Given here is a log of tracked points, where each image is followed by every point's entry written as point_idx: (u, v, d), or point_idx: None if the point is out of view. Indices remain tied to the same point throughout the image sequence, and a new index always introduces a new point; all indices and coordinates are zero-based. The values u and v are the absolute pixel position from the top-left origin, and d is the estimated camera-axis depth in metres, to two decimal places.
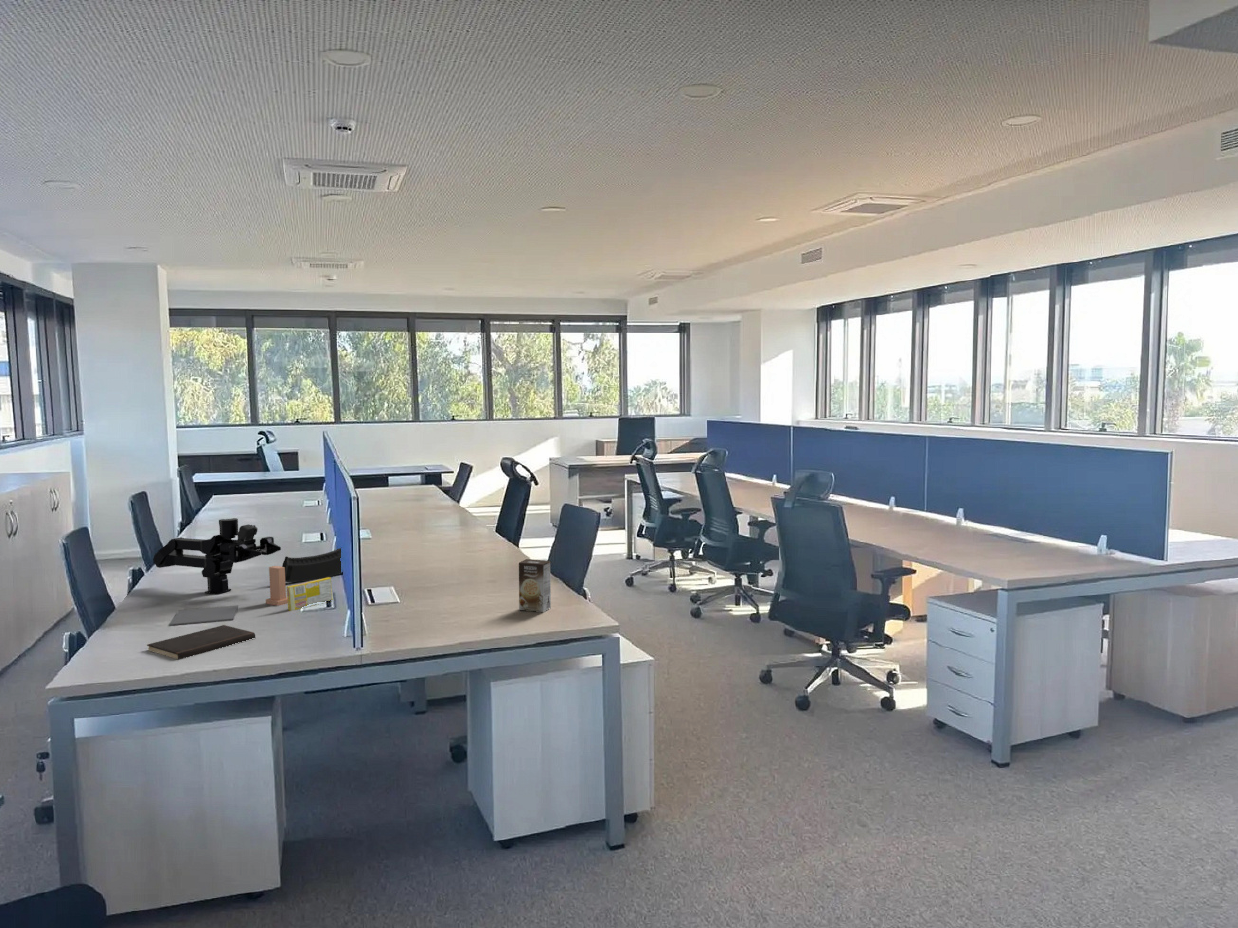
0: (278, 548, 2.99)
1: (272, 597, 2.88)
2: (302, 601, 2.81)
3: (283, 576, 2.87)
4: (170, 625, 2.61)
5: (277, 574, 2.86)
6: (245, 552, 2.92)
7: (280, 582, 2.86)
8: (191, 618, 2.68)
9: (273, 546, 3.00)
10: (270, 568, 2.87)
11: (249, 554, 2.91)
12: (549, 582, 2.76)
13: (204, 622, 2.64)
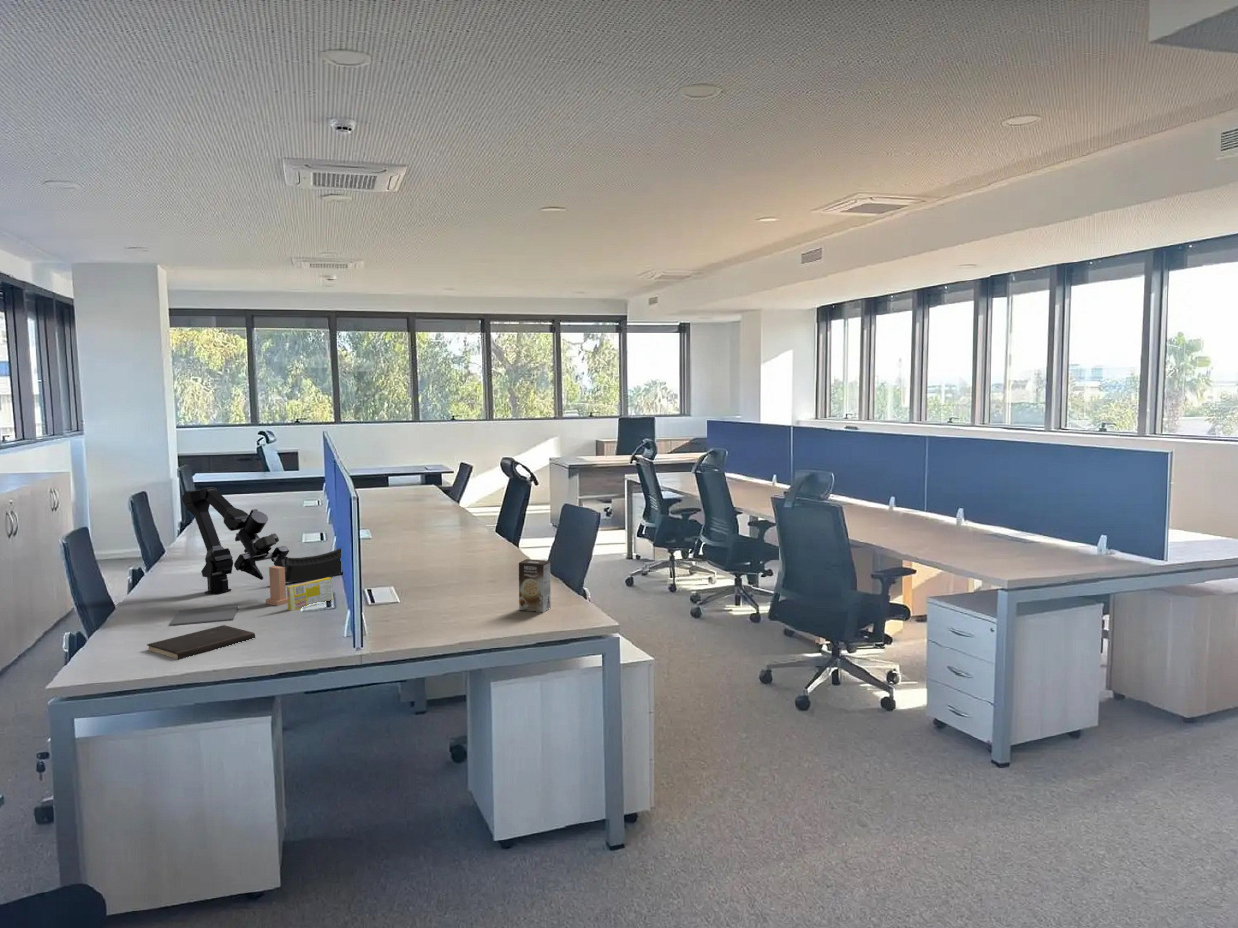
0: None
1: (272, 597, 2.88)
2: (302, 601, 2.81)
3: (283, 576, 2.87)
4: (170, 625, 2.61)
5: (277, 574, 2.86)
6: (251, 566, 2.85)
7: (280, 582, 2.86)
8: (191, 618, 2.68)
9: (281, 565, 2.93)
10: (270, 568, 2.87)
11: (253, 571, 2.85)
12: (549, 582, 2.76)
13: (204, 622, 2.64)
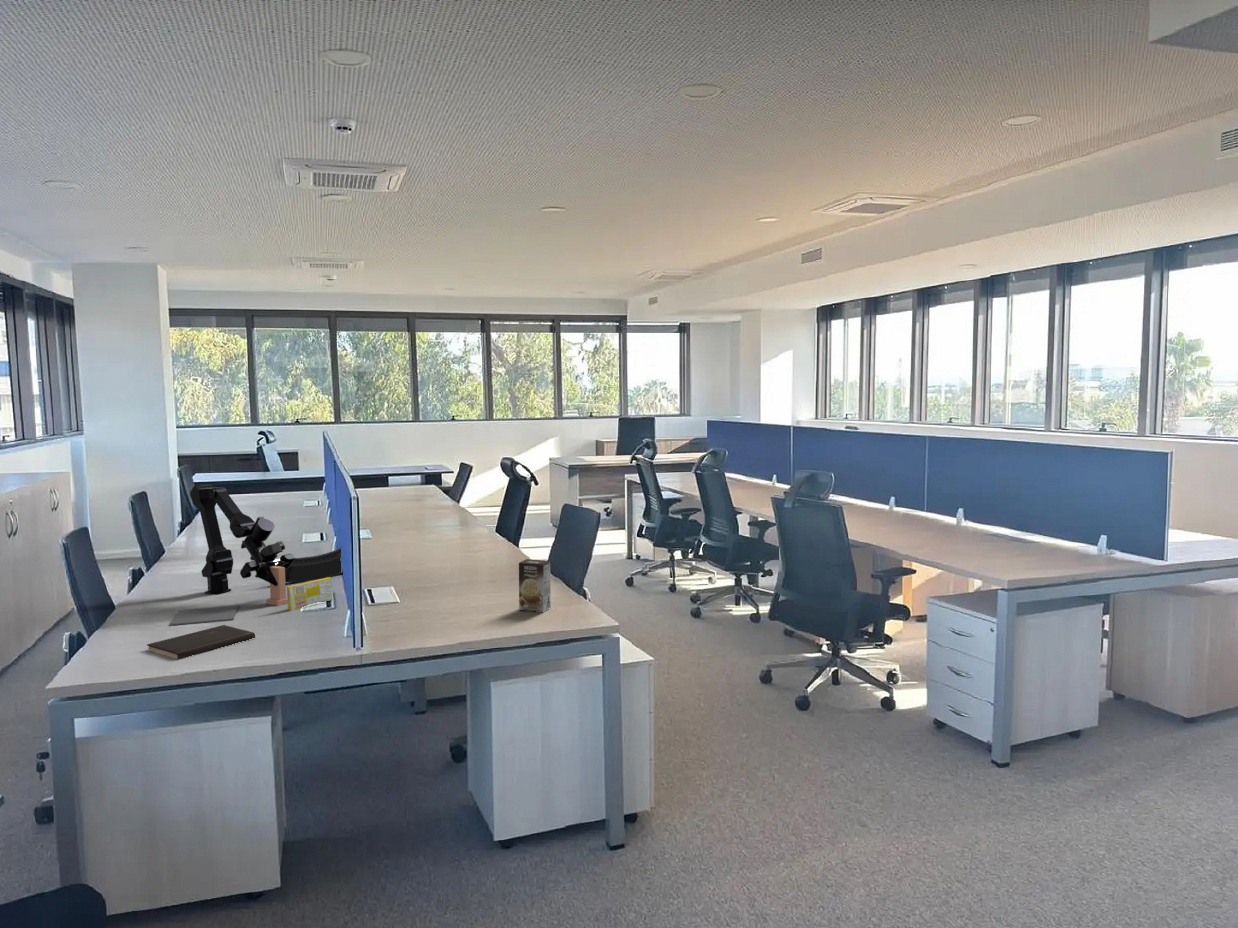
0: None
1: (272, 597, 2.88)
2: (302, 601, 2.81)
3: (283, 576, 2.87)
4: (170, 625, 2.61)
5: (277, 574, 2.86)
6: (265, 572, 2.87)
7: (280, 582, 2.86)
8: (191, 618, 2.68)
9: None
10: (270, 568, 2.87)
11: (267, 577, 2.86)
12: (549, 582, 2.76)
13: (204, 622, 2.64)
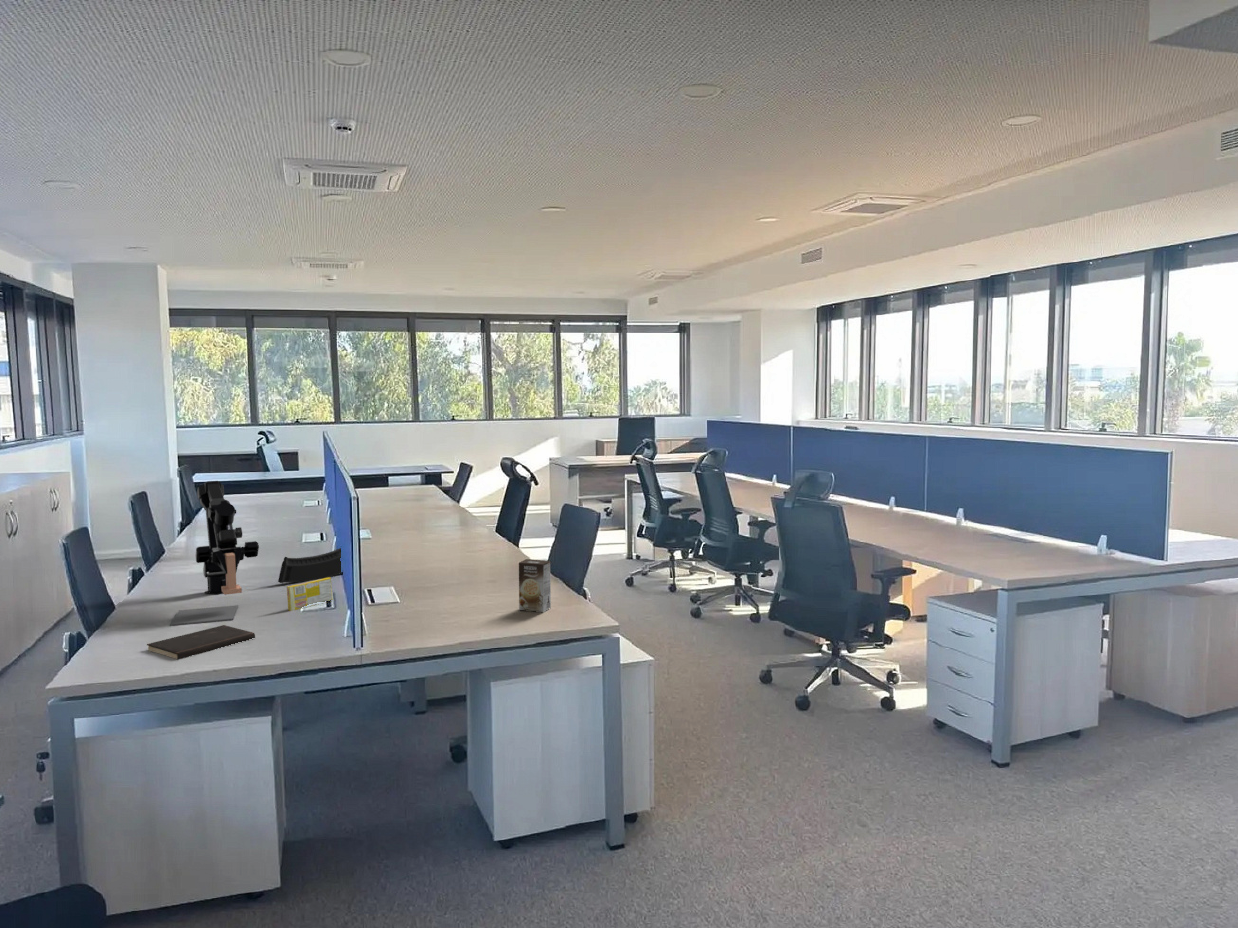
0: None
1: (226, 585, 2.76)
2: (302, 601, 2.81)
3: (233, 564, 2.73)
4: (170, 625, 2.61)
5: (226, 561, 2.73)
6: None
7: (229, 570, 2.73)
8: (191, 618, 2.68)
9: None
10: None
11: (220, 564, 2.75)
12: (549, 582, 2.76)
13: (204, 622, 2.64)
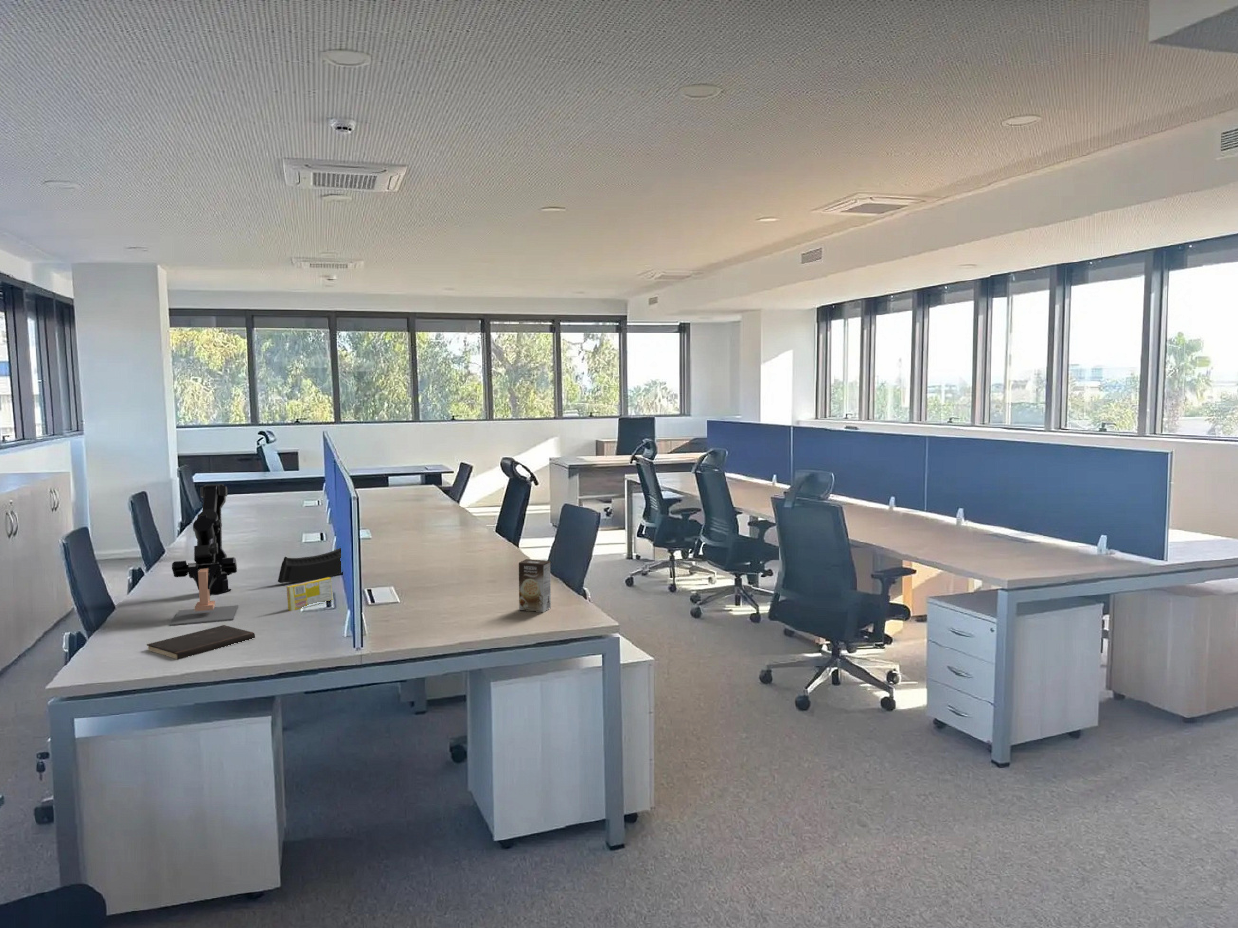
0: None
1: None
2: (302, 601, 2.81)
3: (204, 581, 2.69)
4: (170, 625, 2.61)
5: None
6: None
7: (200, 586, 2.69)
8: (191, 618, 2.68)
9: None
10: None
11: None
12: (549, 582, 2.76)
13: (204, 622, 2.64)
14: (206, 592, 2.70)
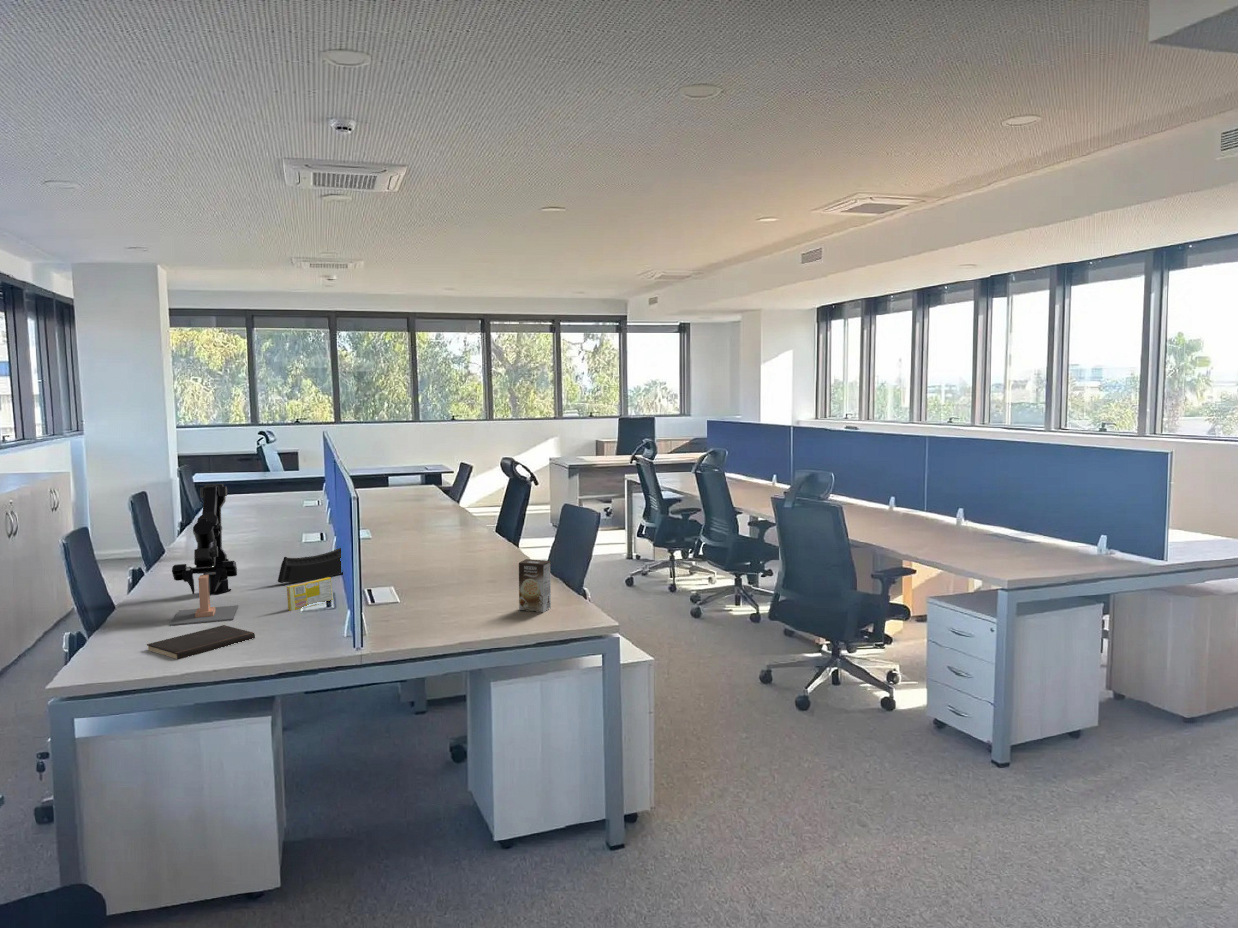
0: (213, 589, 2.72)
1: None
2: (302, 601, 2.81)
3: (204, 587, 2.70)
4: (170, 625, 2.61)
5: (199, 584, 2.70)
6: None
7: (200, 593, 2.69)
8: (191, 618, 2.68)
9: None
10: (200, 576, 2.73)
11: (190, 583, 2.72)
12: (549, 582, 2.76)
13: (204, 622, 2.64)
14: (206, 598, 2.70)
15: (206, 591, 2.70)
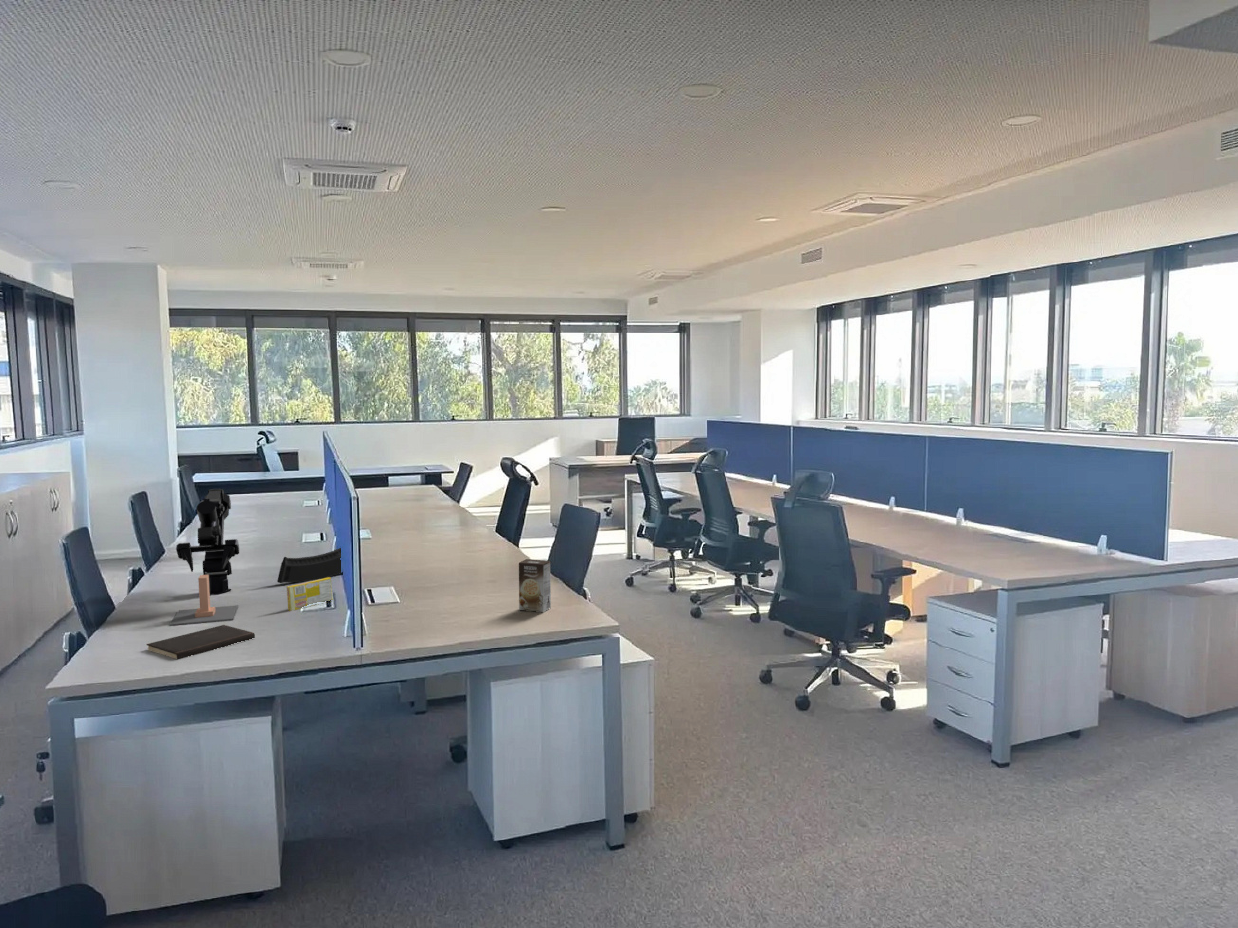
0: (221, 566, 2.81)
1: None
2: (302, 601, 2.81)
3: (204, 587, 2.70)
4: (170, 625, 2.61)
5: (199, 584, 2.70)
6: None
7: (200, 593, 2.69)
8: (191, 618, 2.68)
9: None
10: (200, 576, 2.73)
11: None
12: (549, 582, 2.76)
13: (204, 622, 2.64)
14: (206, 598, 2.70)
15: (206, 591, 2.70)
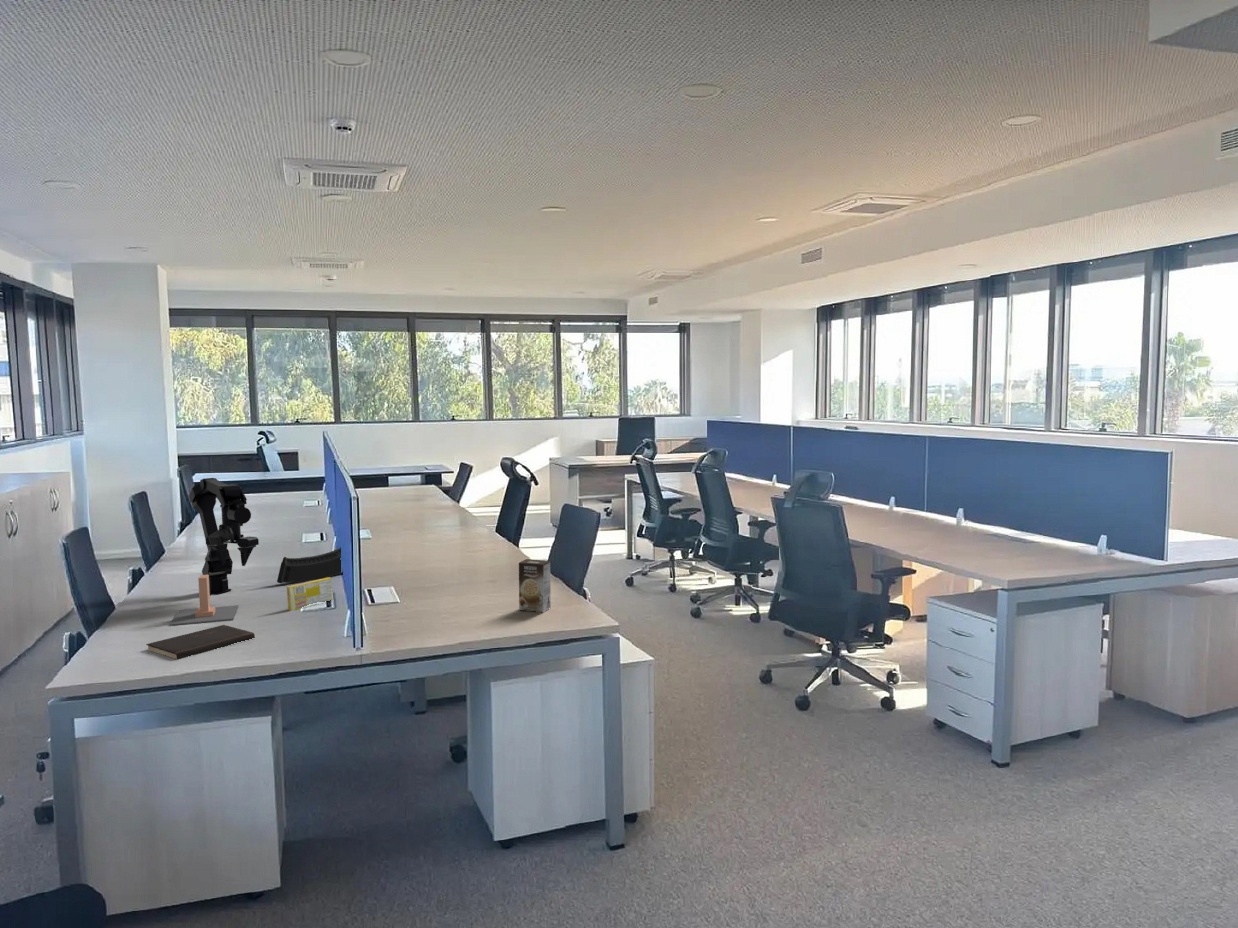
0: None
1: None
2: (302, 601, 2.81)
3: (204, 587, 2.70)
4: (170, 625, 2.61)
5: (199, 584, 2.70)
6: None
7: (200, 593, 2.69)
8: (191, 618, 2.68)
9: None
10: (200, 576, 2.73)
11: None
12: (549, 582, 2.76)
13: (204, 622, 2.64)
14: (206, 598, 2.70)
15: (206, 591, 2.70)
